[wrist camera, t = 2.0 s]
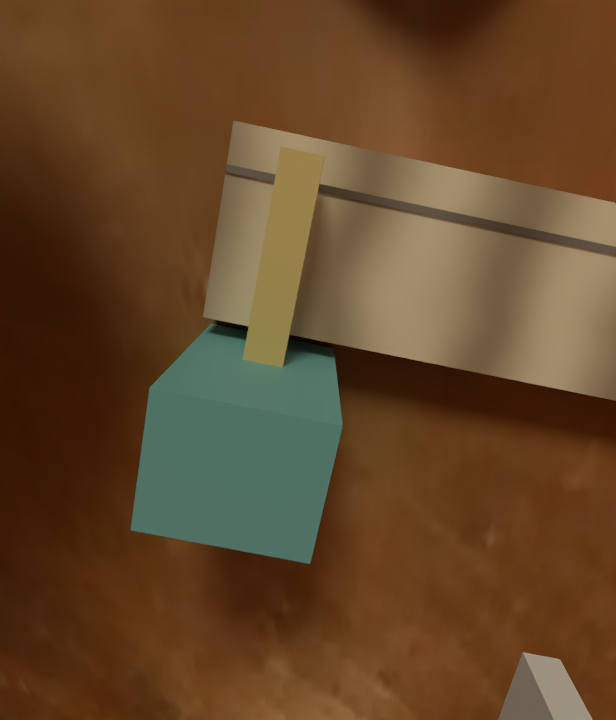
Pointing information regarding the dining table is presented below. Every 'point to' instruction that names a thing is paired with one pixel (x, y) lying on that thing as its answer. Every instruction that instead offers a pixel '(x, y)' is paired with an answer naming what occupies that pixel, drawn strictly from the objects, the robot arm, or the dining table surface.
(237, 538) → the teal boxy piece
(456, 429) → the dining table surface
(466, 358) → the plank
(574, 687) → the robot arm
